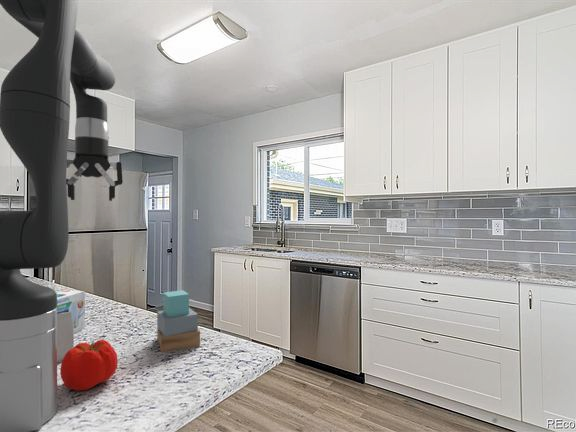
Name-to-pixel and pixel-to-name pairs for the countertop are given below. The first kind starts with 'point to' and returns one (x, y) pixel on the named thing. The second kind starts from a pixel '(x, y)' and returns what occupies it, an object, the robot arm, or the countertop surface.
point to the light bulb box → (72, 307)
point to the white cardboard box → (64, 334)
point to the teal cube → (175, 303)
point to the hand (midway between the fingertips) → (92, 200)
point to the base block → (178, 340)
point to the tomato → (88, 365)
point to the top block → (177, 323)
